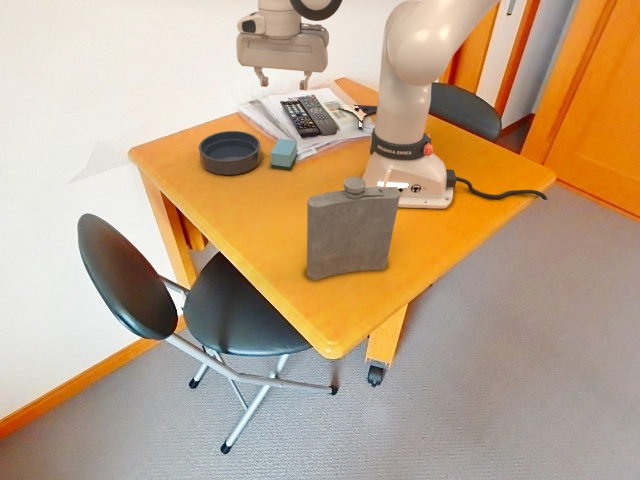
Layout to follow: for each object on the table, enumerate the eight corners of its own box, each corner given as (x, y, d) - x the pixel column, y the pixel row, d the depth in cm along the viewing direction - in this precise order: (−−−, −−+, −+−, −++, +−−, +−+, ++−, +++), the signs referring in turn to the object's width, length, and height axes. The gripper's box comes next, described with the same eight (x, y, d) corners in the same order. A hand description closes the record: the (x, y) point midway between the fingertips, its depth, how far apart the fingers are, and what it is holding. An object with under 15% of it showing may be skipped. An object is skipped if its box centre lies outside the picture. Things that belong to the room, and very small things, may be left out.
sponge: (279, 153, 109) (278, 138, 106) (297, 155, 108) (296, 140, 105) (271, 168, 103) (270, 152, 100) (290, 170, 103) (289, 155, 100)
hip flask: (308, 281, 75) (309, 195, 61) (304, 265, 78) (304, 180, 64) (388, 269, 78) (405, 184, 64) (381, 254, 81) (396, 171, 67)
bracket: (336, 129, 120) (337, 120, 118) (339, 107, 131) (339, 99, 129) (384, 132, 120) (385, 123, 118) (382, 110, 131) (383, 102, 129)
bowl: (268, 149, 110) (267, 134, 107) (249, 180, 99) (248, 164, 96) (215, 142, 112) (213, 127, 109) (191, 171, 101) (188, 156, 98)
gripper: (332, 21, 84) (330, 86, 93) (240, 15, 87) (247, 78, 96) (326, 29, 79) (325, 97, 89) (229, 22, 82) (238, 89, 92)
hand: (284, 87), depth 92 cm, fingers open, 8 cm apart
